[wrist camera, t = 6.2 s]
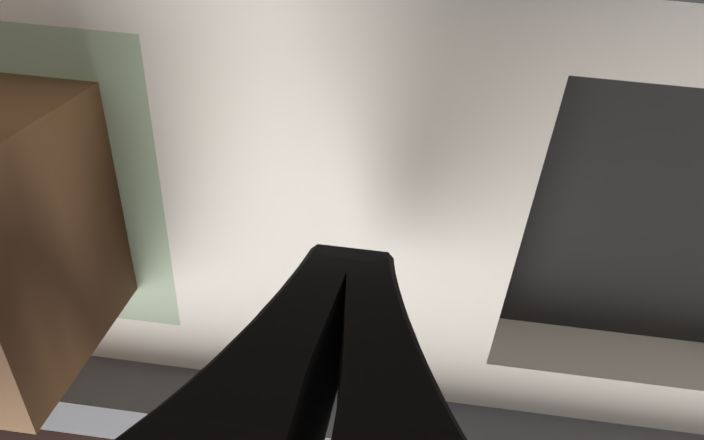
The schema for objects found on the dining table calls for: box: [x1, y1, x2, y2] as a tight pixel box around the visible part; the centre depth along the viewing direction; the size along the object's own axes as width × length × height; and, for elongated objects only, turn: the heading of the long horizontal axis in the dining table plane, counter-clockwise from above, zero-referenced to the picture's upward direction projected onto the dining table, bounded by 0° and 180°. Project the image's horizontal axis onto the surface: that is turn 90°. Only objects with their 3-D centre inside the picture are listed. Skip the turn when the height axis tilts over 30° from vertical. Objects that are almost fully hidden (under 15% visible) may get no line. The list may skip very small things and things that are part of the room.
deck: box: [0, 0, 704, 440], centre depth 11 cm, size 14×24×4 cm, turn 86°
